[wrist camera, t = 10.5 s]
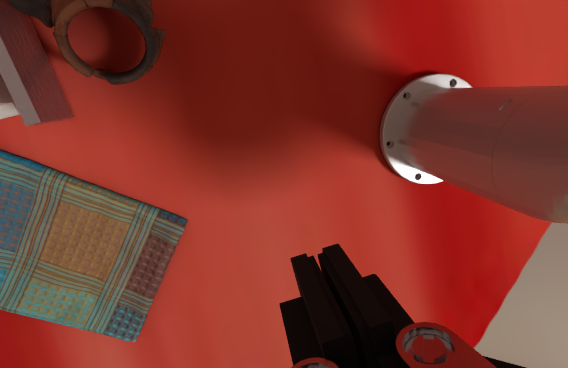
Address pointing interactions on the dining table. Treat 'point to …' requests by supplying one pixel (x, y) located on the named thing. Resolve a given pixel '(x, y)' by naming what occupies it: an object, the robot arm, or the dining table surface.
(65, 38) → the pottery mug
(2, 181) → the dish towel
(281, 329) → the dining table surface
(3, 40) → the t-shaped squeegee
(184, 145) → the dining table surface
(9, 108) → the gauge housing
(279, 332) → the dining table surface
